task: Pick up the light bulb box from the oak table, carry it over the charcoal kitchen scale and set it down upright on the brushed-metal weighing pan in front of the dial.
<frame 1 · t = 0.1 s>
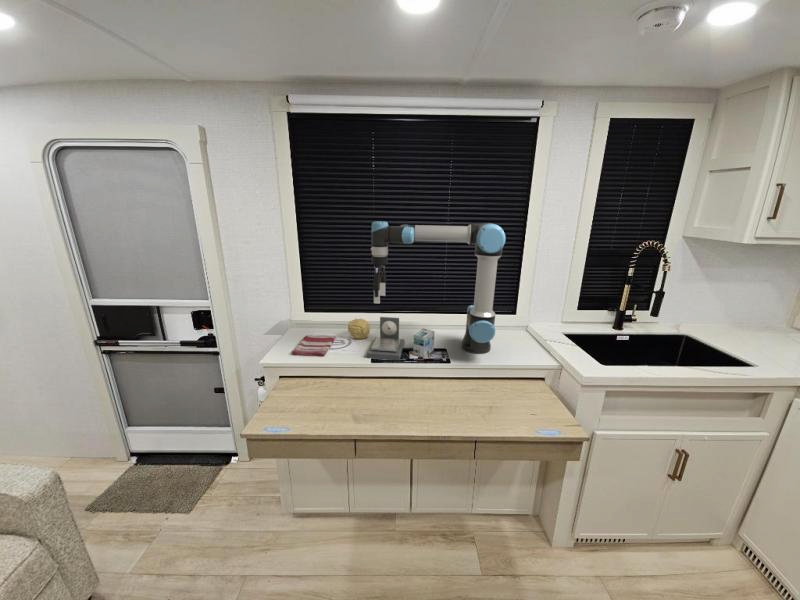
hand: (379, 299, 158), 28 cm above the table, fingers open, 13 cm apart
light bulb box: (423, 352, 166), on the table
scale base: (386, 350, 168), on the table
dish towel: (315, 347, 171), on the table
pan: (386, 345, 166), point 3 cm above the table, slide at -0.8 cm
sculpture: (359, 337, 184), on the table
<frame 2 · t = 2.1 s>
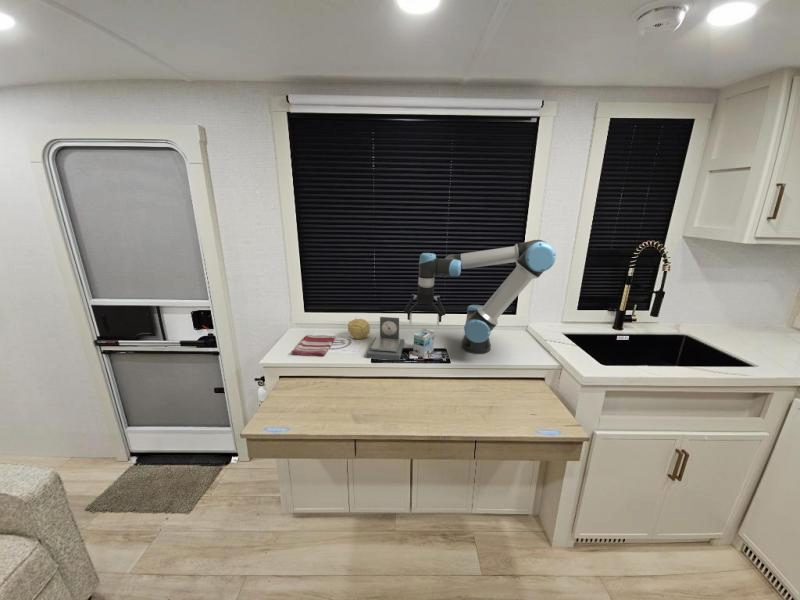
hand: (423, 327, 162), 14 cm above the table, fingers open, 13 cm apart
nothing on the table moved.
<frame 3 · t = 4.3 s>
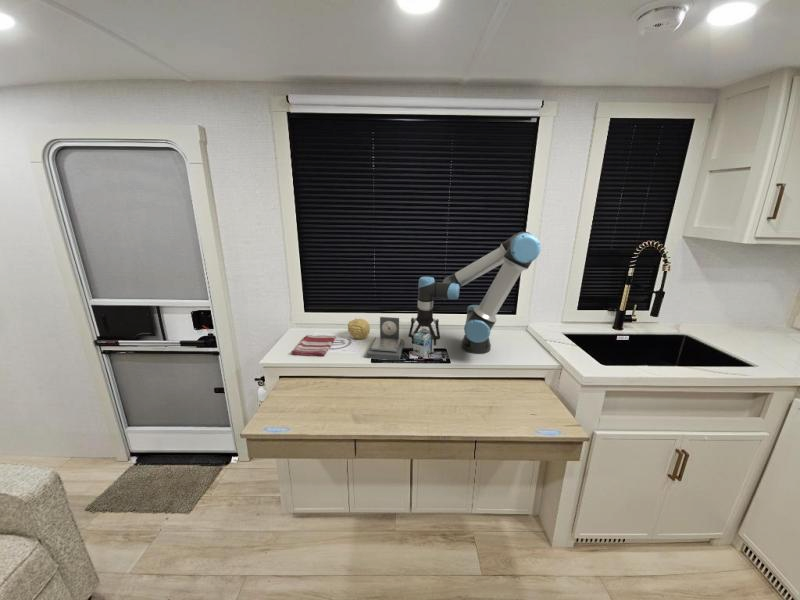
hand: (423, 350, 166), 1 cm above the table, fingers closed on light bulb box, 8 cm apart
light bulb box: (423, 352, 166), on the table, touching gripper
everything else where it was.
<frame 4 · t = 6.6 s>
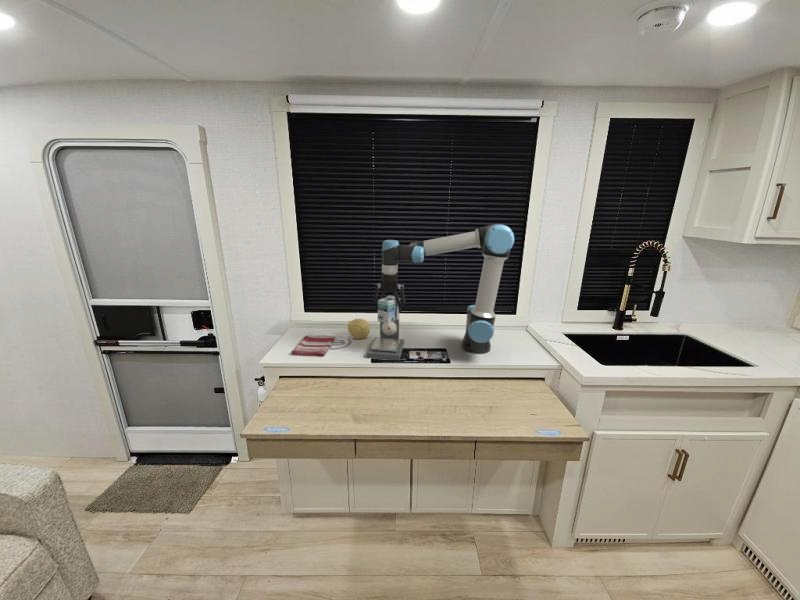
hand: (388, 317, 162), 18 cm above the table, fingers closed on light bulb box, 8 cm apart
light bulb box: (388, 319, 162), point 17 cm above the table, touching gripper
everything else where it was.
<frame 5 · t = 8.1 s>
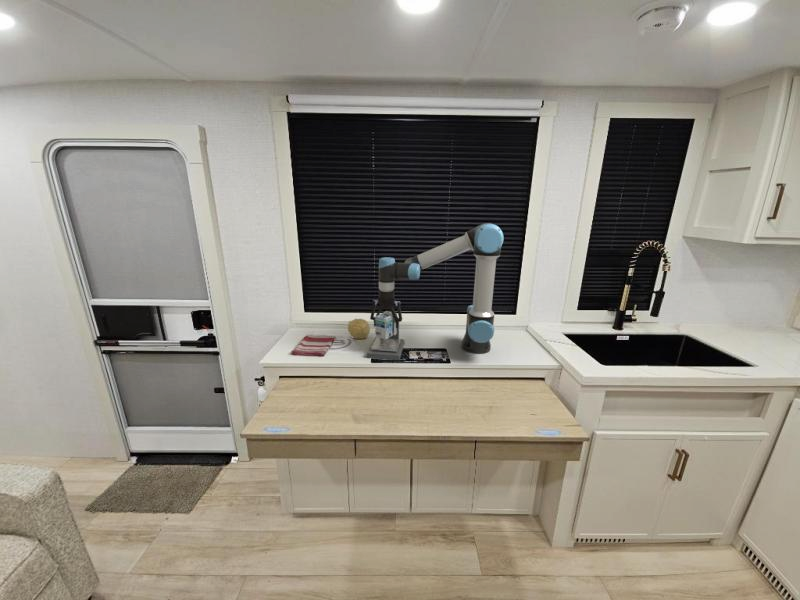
hand: (386, 333, 164), 10 cm above the table, fingers closed on light bulb box, 8 cm apart
light bulb box: (386, 335, 164), point 9 cm above the table, touching gripper
everything else where it was.
when the fingers open (8 cm above the table, at t = 9.4 s): light bulb box drops 3 cm, resting on pan.
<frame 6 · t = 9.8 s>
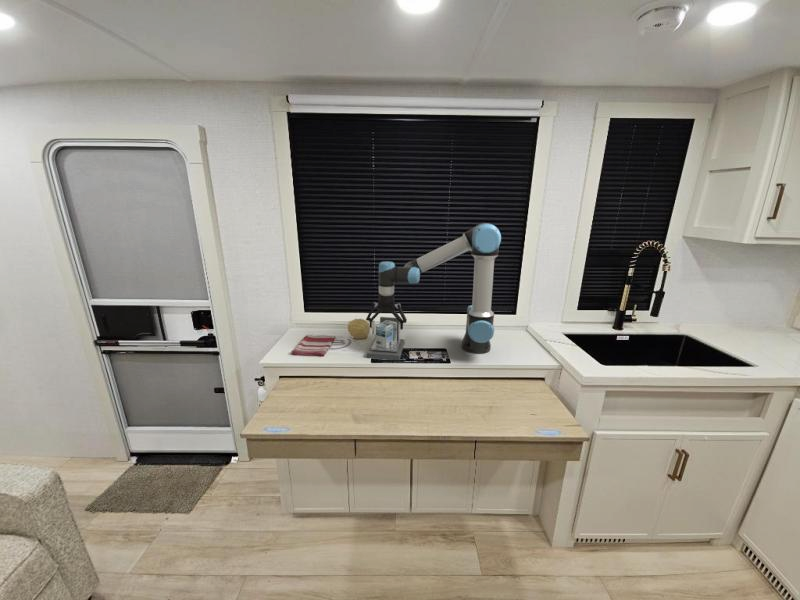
hand: (386, 334, 164), 9 cm above the table, fingers open, 13 cm apart
light bulb box: (386, 344, 166), point 4 cm above the table, touching pan
pan: (386, 345, 166), point 3 cm above the table, slide at -0.8 cm, touching light bulb box
everything else where it was.
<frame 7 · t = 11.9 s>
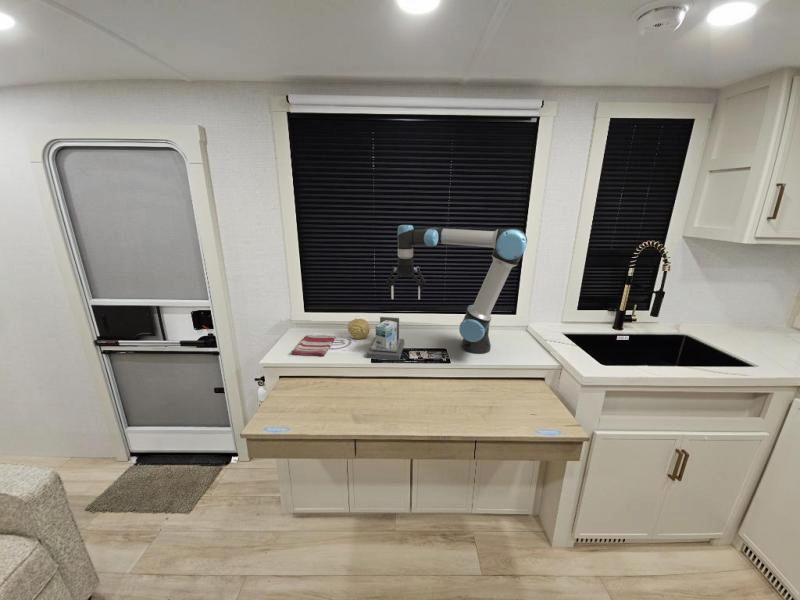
hand: (405, 298, 166), 26 cm above the table, fingers open, 13 cm apart
nothing on the table moved.
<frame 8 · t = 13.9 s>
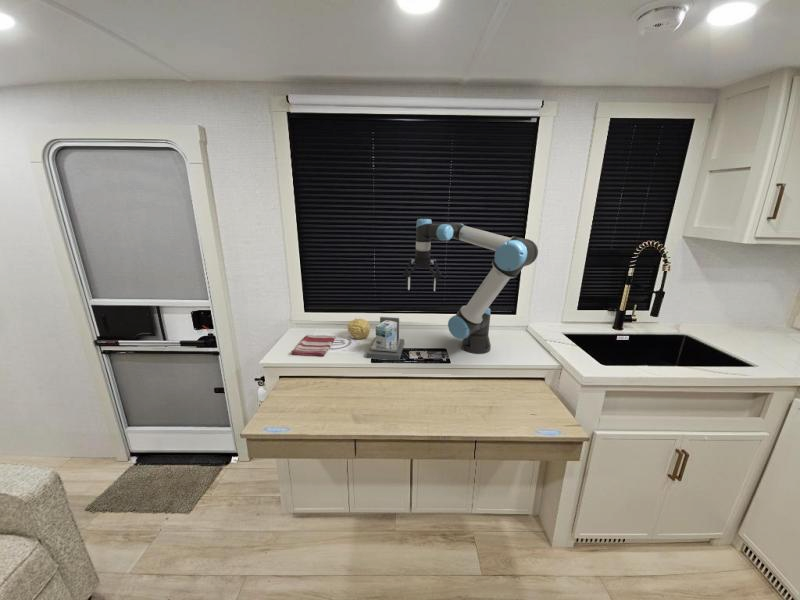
hand: (421, 290, 173), 29 cm above the table, fingers open, 13 cm apart
nothing on the table moved.
at the end: light bulb box inside the target area on the pan (0.0 cm from its centre), point 4.8 cm above the pan's base; light bulb box tilted 0°; the gripper is holding nothing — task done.
